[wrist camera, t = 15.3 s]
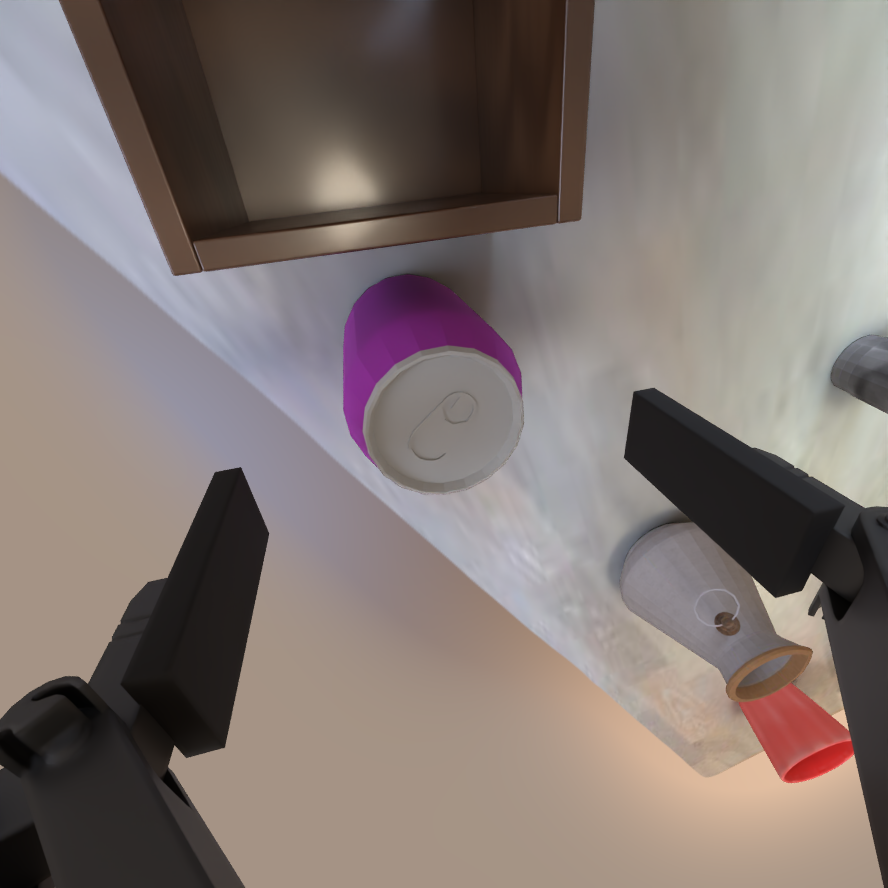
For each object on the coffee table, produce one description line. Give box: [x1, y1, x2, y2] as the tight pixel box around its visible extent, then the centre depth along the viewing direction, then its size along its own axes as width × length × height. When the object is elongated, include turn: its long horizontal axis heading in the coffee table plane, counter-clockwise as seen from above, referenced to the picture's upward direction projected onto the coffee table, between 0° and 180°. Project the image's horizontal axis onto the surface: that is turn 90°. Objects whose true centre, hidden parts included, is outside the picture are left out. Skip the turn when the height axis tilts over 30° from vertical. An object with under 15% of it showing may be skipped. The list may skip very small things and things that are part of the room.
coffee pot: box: [620, 522, 813, 702], centre depth 33 cm, size 21×12×15 cm, turn 40°
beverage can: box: [343, 274, 524, 495], centre depth 21 cm, size 8×8×12 cm
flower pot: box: [739, 683, 854, 783], centre depth 60 cm, size 11×11×10 cm
